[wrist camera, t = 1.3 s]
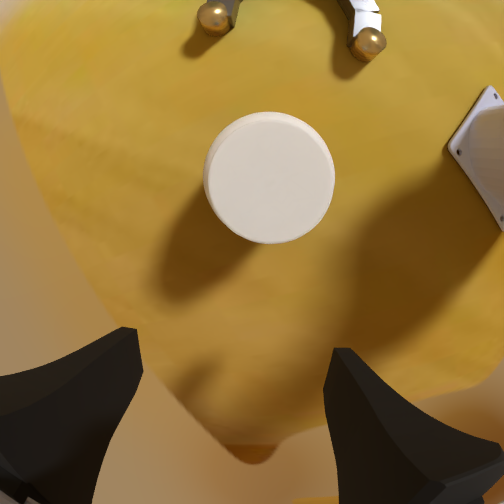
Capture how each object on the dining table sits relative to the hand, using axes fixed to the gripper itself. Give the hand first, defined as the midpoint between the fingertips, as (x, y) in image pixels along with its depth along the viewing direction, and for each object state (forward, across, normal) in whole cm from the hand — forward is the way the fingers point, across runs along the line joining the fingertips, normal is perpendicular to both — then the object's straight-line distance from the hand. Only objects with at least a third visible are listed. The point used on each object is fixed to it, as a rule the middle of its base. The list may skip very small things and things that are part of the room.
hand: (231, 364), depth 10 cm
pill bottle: (+11, -1, -6) cm, 12 cm away
